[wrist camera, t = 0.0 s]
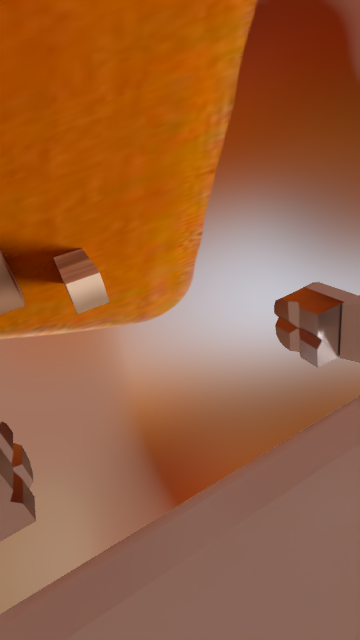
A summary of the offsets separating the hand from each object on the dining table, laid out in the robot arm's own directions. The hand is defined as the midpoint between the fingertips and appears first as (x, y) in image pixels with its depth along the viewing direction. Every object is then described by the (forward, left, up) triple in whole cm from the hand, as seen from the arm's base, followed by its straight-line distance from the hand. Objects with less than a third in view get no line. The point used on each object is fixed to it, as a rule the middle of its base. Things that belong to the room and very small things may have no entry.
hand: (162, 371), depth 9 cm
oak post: (+11, +1, -39) cm, 40 cm away
